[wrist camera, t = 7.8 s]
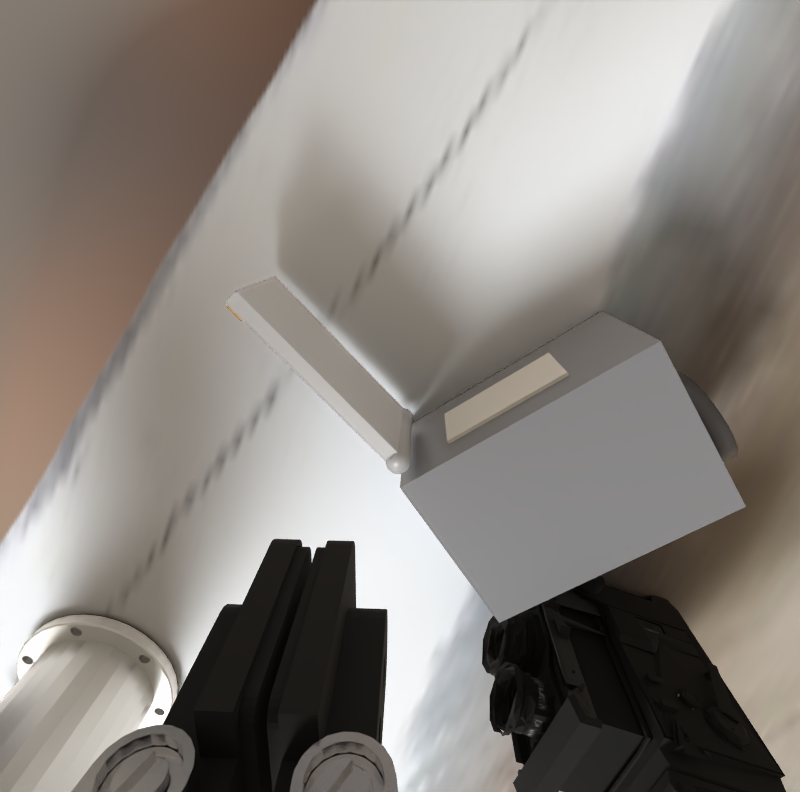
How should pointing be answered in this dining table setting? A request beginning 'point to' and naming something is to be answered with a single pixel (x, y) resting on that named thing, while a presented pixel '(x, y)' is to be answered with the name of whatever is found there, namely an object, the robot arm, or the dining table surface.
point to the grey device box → (570, 465)
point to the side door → (327, 368)
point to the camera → (618, 700)
